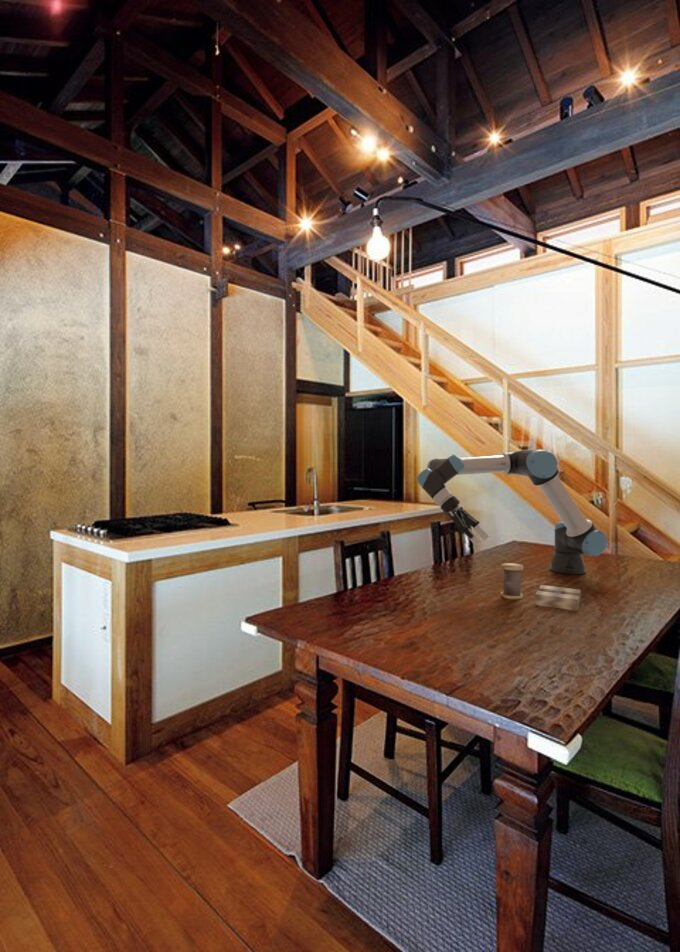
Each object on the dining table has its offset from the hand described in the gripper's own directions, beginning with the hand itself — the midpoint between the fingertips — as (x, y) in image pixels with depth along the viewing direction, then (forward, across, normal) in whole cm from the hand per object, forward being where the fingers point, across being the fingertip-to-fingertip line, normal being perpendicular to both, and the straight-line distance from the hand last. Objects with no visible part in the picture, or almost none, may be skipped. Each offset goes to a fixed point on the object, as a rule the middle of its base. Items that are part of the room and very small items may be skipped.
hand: (483, 541), depth 197 cm
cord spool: (+22, 0, -6) cm, 23 cm away
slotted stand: (+34, 0, +5) cm, 34 cm away
